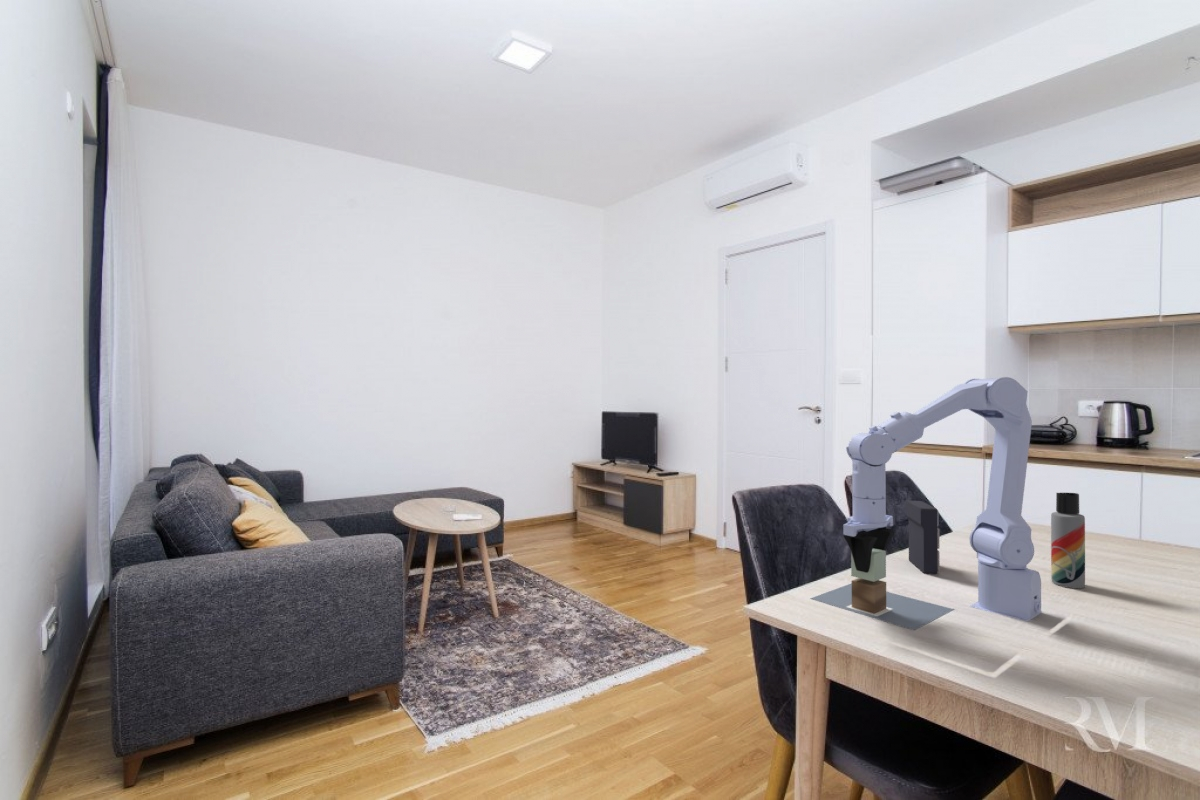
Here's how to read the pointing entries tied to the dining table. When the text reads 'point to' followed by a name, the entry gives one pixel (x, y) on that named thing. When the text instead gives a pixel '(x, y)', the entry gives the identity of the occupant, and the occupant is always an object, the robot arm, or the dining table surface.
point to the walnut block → (869, 595)
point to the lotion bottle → (1068, 542)
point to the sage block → (872, 566)
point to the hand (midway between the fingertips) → (869, 568)
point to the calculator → (923, 536)
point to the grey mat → (889, 608)
